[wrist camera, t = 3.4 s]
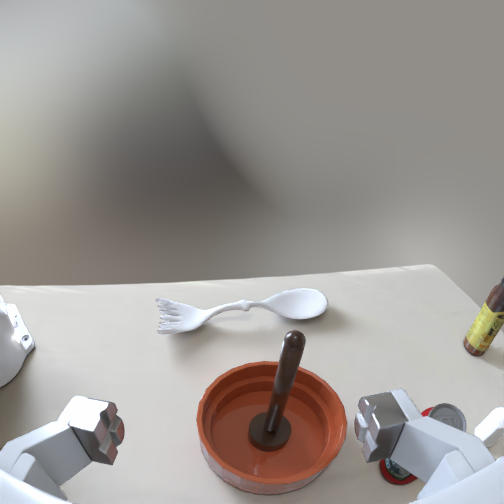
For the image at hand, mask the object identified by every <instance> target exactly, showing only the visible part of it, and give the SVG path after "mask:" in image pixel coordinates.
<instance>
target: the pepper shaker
mask: <svg viewBox="0 0 504 504" xmlns="http://www.w3.org/2000/svg"><path fill="white" fill-rule="evenodd" d="M475 436H476V437H479V438H480V439H481V440H482V442H483V443H484V444H485V446H486V447H491V446H493V445H494V444H495V443H496V442H498V441H499V440H500V439H501V438H502V437H503V436H504V408H496V409H494V410H493V411H492V412H491V413H490V414H489V415H488V416H487V417H486V418H485V419H484V420H483V421H482V422H481V423H480V424H479V425H478V426H477V427H476V428H475Z"/></svg>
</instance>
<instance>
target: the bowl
mask: <svg viewBox="0 0 504 504" xmlns="http://www.w3.org/2000/svg"><path fill="white" fill-rule="evenodd" d="M278 364H279V362H269V361H262V362H255V363H247V364H244V365H242V366H239V367H236V368H233V369H230V370H229V371H227V372H226V373H224V374H222V375H221V376H219V377H218V378H217V379H216V380H215V381H214V382H213V383H212V384H211V385H210V386H209V387H208V388H207V389H206V391H205V393H204V395H203V397H202V399H201V400H200V402H199V407H198V413H197V426H198V432H199V438H200V444H201V449H202V453H203V455H204V457H205V459H206V461H207V462H208V464H209V466H210V468H211V469H212V470H213V471H214V472H215V473H216V474H217V475H218V476H219V477H220V478H221V479H223V480H224V481H226V482H228V483H230V484H231V485H233V486H235V487H237V488H239V489H241V490H245V491H249V492H253V493H257V494H281V493H286V492H289V491H293V490H297V489H299V488H301V487H303V486H304V485H306V484H308V483H310V482H311V481H313V480H314V479H315V478H316V477H317V476H318V475H319V474H320V473H321V472H322V471H323V470H324V469H325V468H326V467H327V466H328V465H329V464H330V463H331V461H332V460H333V459H334V458H335V457H336V456H337V455H338V453H339V451H340V449H341V447H342V445H343V442H344V440H345V437H346V429H347V420H346V415H345V410H344V406H343V404H342V402H341V401H340V399H339V397H338V395H337V393H336V392H335V391H334V390H333V389H332V388H331V387H330V386H329V385H328V383H327V382H326V381H324V380H323V379H321V378H320V377H318V376H317V375H316V374H314V373H313V372H310V371H308V370H306V369H304V368H301V367H298V370H297V373H296V377H295V380H294V383H293V386H292V389H291V392H290V395H289V398H288V401H287V404H286V407H285V410H284V413H283V416H284V417H286V418H287V420H288V421H289V422H290V425H291V435H290V437H289V439H288V442H287V443H286V445H285V446H284V447H283V448H281V449H279V450H277V451H273V452H265V451H261V450H259V449H257V448H255V447H254V446H253V445H252V444H251V443H250V441H249V438H248V430H249V424H250V422H251V420H252V419H253V418H254V417H255V416H256V415H258V414H260V413H263V412H267V410H268V406H269V402H270V398H271V394H272V390H273V385H274V381H275V377H276V373H277V368H278Z"/></svg>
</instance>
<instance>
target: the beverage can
mask: <svg viewBox="0 0 504 504" xmlns="http://www.w3.org/2000/svg"><path fill="white" fill-rule="evenodd" d="M421 414H422V416H423V417H425V416H428V417H430V418H433V419H435V420H437V421H440V422H442V423H444V424H447V425H449V426H451V427H454V428H456V429H459V430H461V431H464V432H465V431H466V420H465V417H464V415H463V413H462V412H461V411H460V410H459V409H458V408H457V407H455V406H453V405H451V404H446V403H443V404H439V405H436V406H435V407H431V408H428V409H426V410H424V411H423V412H422V413H421ZM390 458H391V457H390ZM390 458H386V459H382V460H381V462H380V466H381V470H382V473H383V475H384V476H385V477H386V478H387V479H388V480H389V481H391V482H393V483H395V484H407V483H410V482H412V481H414V480H415V479H417V477H416V476H414V475H413V474H412V473H410V472H409V471H407V470H406V469H404V468H403V467H401V466H400V465H399V464H397V463H396V462H394V461H393V460H392V459H390Z"/></svg>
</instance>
